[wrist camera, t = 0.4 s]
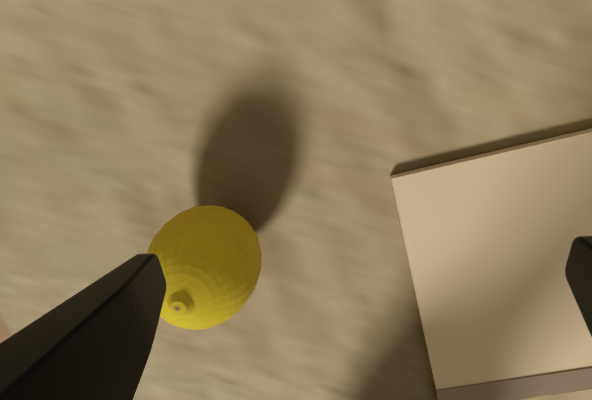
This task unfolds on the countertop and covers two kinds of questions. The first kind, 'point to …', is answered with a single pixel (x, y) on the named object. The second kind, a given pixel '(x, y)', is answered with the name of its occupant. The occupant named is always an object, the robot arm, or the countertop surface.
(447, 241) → the notepad
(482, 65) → the countertop surface
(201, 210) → the lemon
